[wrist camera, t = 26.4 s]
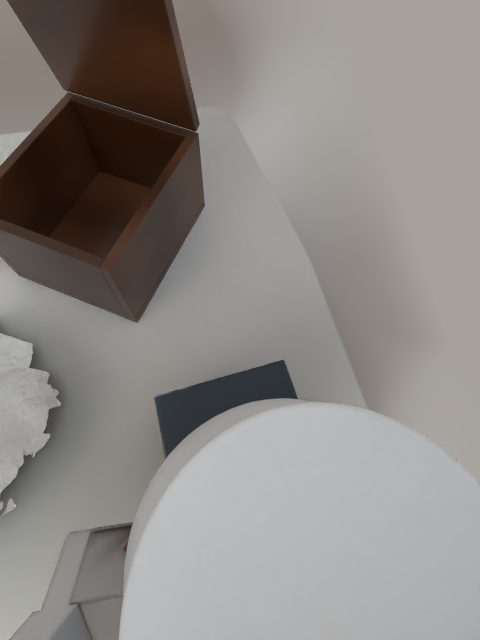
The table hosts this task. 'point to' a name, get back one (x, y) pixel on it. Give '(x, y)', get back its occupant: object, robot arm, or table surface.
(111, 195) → the chest
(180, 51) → the chest lid
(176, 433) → the box
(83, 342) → the table surface
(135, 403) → the table surface
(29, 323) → the table surface
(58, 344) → the table surface
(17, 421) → the paper
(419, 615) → the pill bottle
